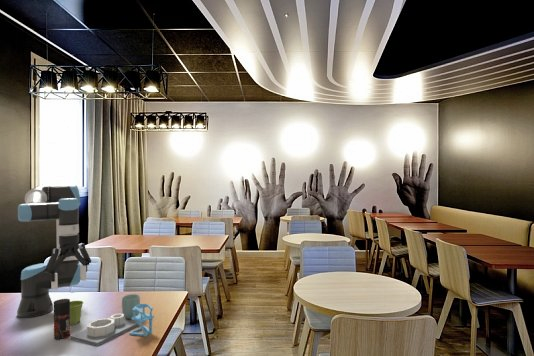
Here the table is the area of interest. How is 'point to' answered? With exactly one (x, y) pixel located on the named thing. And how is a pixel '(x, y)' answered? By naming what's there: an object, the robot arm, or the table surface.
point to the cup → (130, 305)
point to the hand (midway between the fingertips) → (69, 284)
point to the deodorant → (61, 319)
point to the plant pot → (75, 311)
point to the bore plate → (103, 338)
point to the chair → (142, 320)
